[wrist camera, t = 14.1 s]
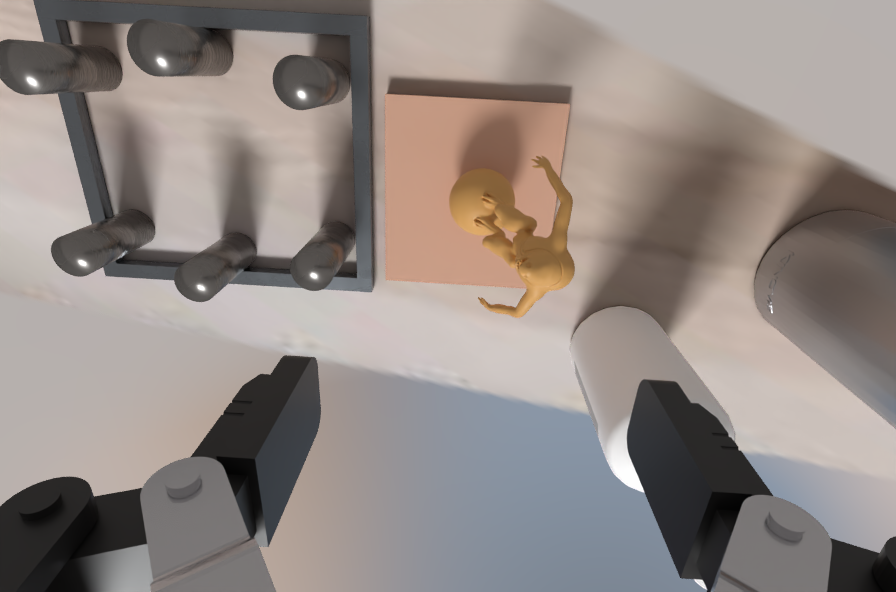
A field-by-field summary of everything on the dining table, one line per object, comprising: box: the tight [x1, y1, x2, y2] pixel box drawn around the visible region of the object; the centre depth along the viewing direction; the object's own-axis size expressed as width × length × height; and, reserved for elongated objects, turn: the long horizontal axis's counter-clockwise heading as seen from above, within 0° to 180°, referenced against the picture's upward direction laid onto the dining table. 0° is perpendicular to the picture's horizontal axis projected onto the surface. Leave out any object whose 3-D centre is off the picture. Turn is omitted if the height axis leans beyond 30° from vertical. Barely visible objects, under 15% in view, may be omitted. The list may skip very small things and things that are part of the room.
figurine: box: [449, 156, 575, 318], centre depth 26 cm, size 8×6×12 cm
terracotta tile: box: [385, 94, 570, 288], centre depth 32 cm, size 11×12×1 cm
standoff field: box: [0, 0, 374, 302], centre depth 29 cm, size 19×17×6 cm
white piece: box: [570, 306, 735, 589], centre depth 28 cm, size 7×7×18 cm
